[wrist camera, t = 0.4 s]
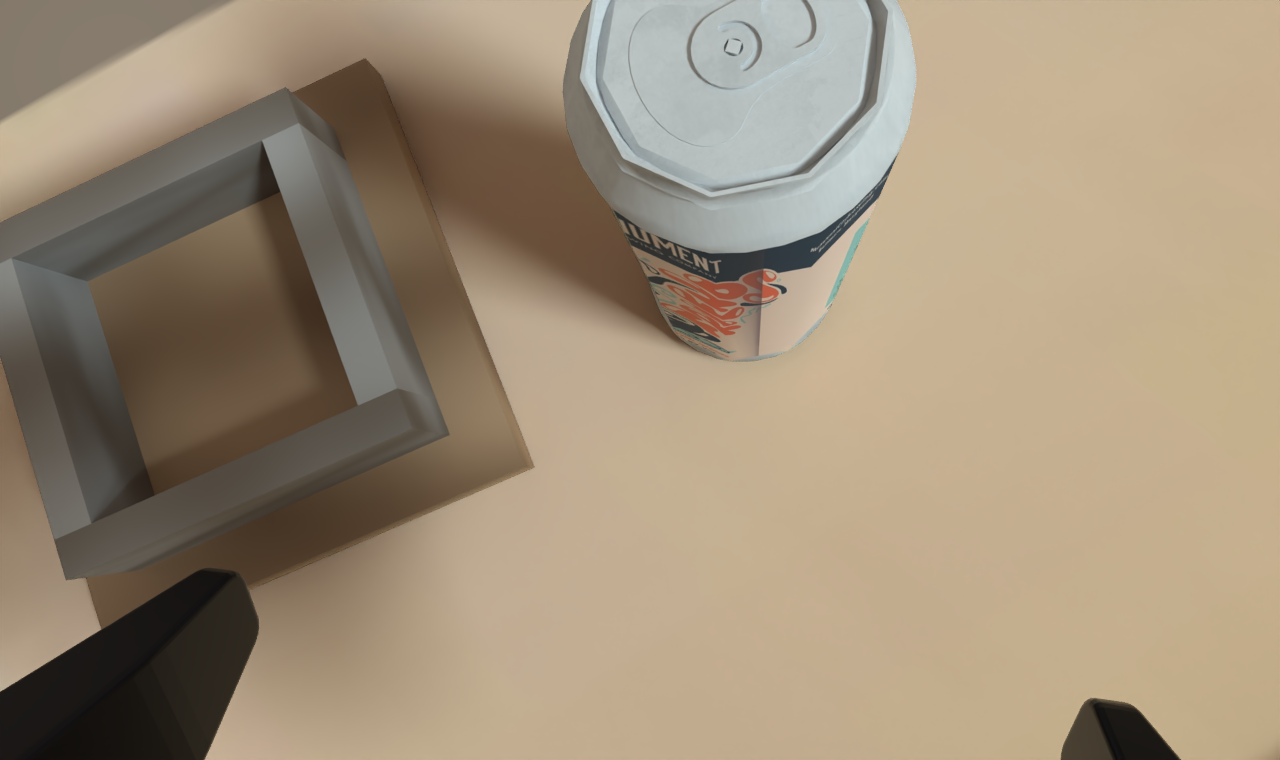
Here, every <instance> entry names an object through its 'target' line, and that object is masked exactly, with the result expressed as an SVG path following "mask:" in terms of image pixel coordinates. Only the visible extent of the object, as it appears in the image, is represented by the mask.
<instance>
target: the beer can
mask: <svg viewBox="0 0 1280 760" xmlns="http://www.w3.org/2000/svg"><path fill="white" fill-rule="evenodd" d="M915 88H916V64H915V58H914V52H913V47H912V41H911V36H910V32H909V28H908V24H907V21H906V19H905V17H904V15H903V13H902V10H901V8H900V6H899V4H898V2H897V0H591V1H590V3H589V4H588V5H587V7H586V8H585V10H584V12H583V13H582V15H581V18H580V20H579V23H578V25H577V27H576V30H575V32H574V35H573V37H572V39H571V43H570V48H569V54H568V59H567V64H566V70H565V75H564V82H563V98H564V106H565V118H566V125H567V131H568V133H569V136H570V138H571V141H572V143H573V146H574V149H575V151H576V154H577V156H578V159H579V161H580V164H581V166H582V167H583V169H584V170H585V172H586V173H587V175H588V177H589V178H590V180H591V181H592V183H593V184H594V186H595V187H596V189H597V190H598V192H599V193H600V195H601V196H602V197H603V198H604V199H605V201H606V202H607V203H608V204H609V206H610V208H611V210H612V212H613V214H614V216H615V218H616V220H617V222H618V223H619V225H620V227H621V229H622V231H623V233H624V235H625V237H626V239H627V241H628V243H629V245H630V247H631V249H632V251H633V253H634V255H635V257H636V259H637V261H638V263H639V264H640V266H641V268H642V270H643V272H644V274H645V276H646V278H647V280H648V282H649V284H650V286H651V289H652V293H653V295H654V298H655V300H656V303H657V305H658V308H659V310H660V313H661V314H662V316H663V317H664V319H665V320H666V322H667V323H668V325H669V326H670V328H671V329H672V331H673V332H674V333H675V334H676V335H677V336H678V337H679V338H680V339H681V340H683V341H684V342H685V343H687V344H688V345H690V346H691V347H693V348H694V349H696V350H698V351H700V352H703V353H705V354H708V355H710V356H713V357H715V358H717V359H722V360H727V361H757V360H762V359H766V358H771V357H775V356H777V355H779V354H782V353H784V352H786V351H789V350H790V349H792V348H793V347H795V346H796V345H798V344H800V343H801V342H803V341H804V340H805V339H806V338H807V337H808V336H809V335H810V334H811V333H812V332H813V331H814V330H815V329H816V328H817V327H818V325H819V324H820V323H821V321H822V320H823V318H824V317H825V315H826V314H827V312H828V311H829V309H830V307H831V305H832V303H833V300H834V298H835V296H836V294H837V291H838V289H839V287H840V285H841V282H842V280H843V278H844V275H845V273H846V271H847V269H848V266H849V264H850V262H851V260H852V257H853V255H854V253H855V250H856V248H857V246H858V244H859V241H860V239H861V237H862V234H863V232H864V230H865V228H866V225H867V223H868V221H869V219H870V216H871V214H872V212H873V209H874V207H875V205H876V203H877V200H878V198H879V196H880V194H881V191H882V189H883V187H884V184H885V182H886V180H887V178H888V175H889V173H890V171H891V169H892V166H893V164H894V162H895V159H896V157H897V155H898V153H899V150H900V148H901V145H902V142H903V140H904V137H905V135H906V132H907V129H908V127H909V122H910V116H911V110H912V105H913V99H914V93H915Z"/></svg>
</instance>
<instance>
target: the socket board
mask: <svg viewBox="0 0 1280 760" xmlns="http://www.w3.org/2000/svg"><path fill="white" fill-rule="evenodd" d="M0 357H1V360H2V363H3V367H4V370H5V374H6V377H7V381H8V384H9V387H10V391H11V394H12V398H13V401H14V404H15V408H16V411H17V415H18V418H19V421H20V425H21V428H22V432H23V435H24V438H25V442H26V445H27V449H28V452H29V456H30V459H31V462H32V466H33V469H34V473H35V476H36V479H37V483H38V486H39V490H40V493H41V496H42V500H43V503H44V507H45V510H46V513H47V517H48V520H49V524H50V527H51V531H52V534H53V537H54V541H55V544H56V548H57V551H58V554H59V558H60V561H61V565H62V568H63V571H64V575H65V578H66V580H71V579H78V578H86V579H87V582H88V586H89V589H90V592H91V596H92V599H93V602H94V606H95V609H96V613H97V616H98V619H99V623H100V626H101V629H103V628H105V627H106V626H108V625H110V624H111V623H113V622H115V621H116V620H118V619H119V618H121V617H123V616H124V615H126V614H128V613H129V612H131V611H132V610H134V609H136V608H137V607H139V606H141V605H142V604H144V603H145V602H147V601H149V600H150V599H152V598H154V597H155V596H157V595H158V594H160V593H162V592H163V591H165V590H167V589H168V588H170V587H171V586H173V585H175V584H176V583H178V582H180V581H181V580H183V579H184V578H186V577H188V576H189V575H191V574H193V573H194V572H196V571H198V570H200V569H203V568H218V569H225V570H232V571H236V572H239V573H240V574H241V575H242V576H243V577H244V579H245V581H246V584H247V587H248V590H250V589H253V588H255V587H257V586H260V585H262V584H264V583H267V582H269V581H271V580H274V579H276V578H278V577H281V576H283V575H285V574H288V573H290V572H292V571H294V570H297V569H299V568H301V567H304V566H306V565H308V564H311V563H313V562H315V561H318V560H320V559H322V558H325V557H327V556H329V555H332V554H334V553H336V552H339V551H341V550H343V549H346V548H348V547H350V546H353V545H355V544H357V543H360V542H362V541H364V540H367V539H369V538H371V537H374V536H376V535H378V534H381V533H383V532H385V531H388V530H390V529H392V528H395V527H397V526H399V525H402V524H404V523H406V522H408V521H411V520H413V519H415V518H418V517H420V516H422V515H425V514H427V513H429V512H432V511H434V510H436V509H439V508H441V507H443V506H446V505H448V504H450V503H453V502H455V501H457V500H460V499H462V498H464V497H467V496H469V495H471V494H474V493H476V492H478V491H481V490H483V489H485V488H488V487H490V486H492V485H495V484H497V483H499V482H502V481H504V480H506V479H509V478H511V477H513V476H516V475H518V474H520V473H522V472H525V471H527V470H529V469H532V468H534V465H533V462H532V460H531V457H530V454H529V452H528V449H527V447H526V444H525V442H524V439H523V437H522V434H521V431H520V429H519V426H518V424H517V421H516V419H515V416H514V414H513V411H512V408H511V406H510V403H509V401H508V398H507V396H506V393H505V391H504V388H503V386H502V383H501V380H500V378H499V375H498V373H497V370H496V368H495V365H494V363H493V360H492V357H491V355H490V352H489V350H488V347H487V345H486V342H485V340H484V337H483V335H482V332H481V329H480V327H479V324H478V322H477V319H476V317H475V314H474V312H473V309H472V306H471V304H470V301H469V299H468V296H467V294H466V291H465V289H464V286H463V284H462V281H461V278H460V276H459V273H458V271H457V268H456V266H455V263H454V261H453V258H452V255H451V253H450V250H449V248H448V245H447V243H446V240H445V238H444V235H443V233H442V230H441V227H440V225H439V222H438V220H437V217H436V215H435V212H434V210H433V207H432V204H431V202H430V199H429V197H428V194H427V192H426V189H425V187H424V184H423V182H422V179H421V176H420V174H419V171H418V169H417V166H416V164H415V161H414V159H413V156H412V153H411V151H410V148H409V146H408V143H407V141H406V138H405V136H404V133H403V131H402V128H401V125H400V123H399V120H398V118H397V115H396V113H395V110H394V108H393V105H392V102H391V100H390V97H389V95H388V92H387V90H386V87H385V85H384V82H383V80H382V77H381V75H380V74H379V73H378V72H377V71H376V69H375V68H374V67H373V66H372V65H371V64H370V63H369V62H368V61H367V59H366V58H365V59H363V60H361V61H359V62H357V63H354V64H352V65H350V66H348V67H346V68H344V69H342V70H340V71H338V72H335V73H333V74H331V75H329V76H327V77H325V78H323V79H321V80H319V81H316V82H314V83H312V84H310V85H308V86H306V87H304V88H302V89H299V90H297V91H295V92H293V93H292V92H290V91H289V90H288V89H287V88H286V87H285V88H283V89H281V90H279V91H277V92H275V93H273V94H271V95H268V96H266V97H264V98H262V99H260V100H258V101H256V102H254V103H252V104H250V105H247V106H245V107H243V108H241V109H239V110H237V111H235V112H233V113H231V114H228V115H226V116H224V117H222V118H220V119H218V120H216V121H214V122H212V123H209V124H207V125H205V126H203V127H201V128H199V129H197V130H195V131H193V132H190V133H188V134H186V135H184V136H182V137H180V138H178V139H176V140H174V141H171V142H169V143H167V144H165V145H163V146H161V147H159V148H157V149H155V150H152V151H150V152H148V153H146V154H144V155H142V156H140V157H138V158H136V159H134V160H131V161H129V162H127V163H125V164H123V165H121V166H119V167H117V168H115V169H112V170H110V171H108V172H106V173H104V174H102V175H100V176H98V177H96V178H93V179H91V180H89V181H87V182H85V183H83V184H81V185H79V186H77V187H74V188H72V189H70V190H68V191H66V192H64V193H62V194H60V195H58V196H55V197H53V198H51V199H49V200H47V201H45V202H43V203H41V204H39V205H36V206H34V207H32V208H30V209H28V210H26V211H24V212H22V213H20V214H17V215H15V216H13V217H11V218H9V219H7V220H5V221H3V222H1V223H0Z"/></svg>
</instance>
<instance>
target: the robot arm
mask: <svg viewBox="0 0 1280 760" xmlns="http://www.w3.org/2000/svg"><path fill="white" fill-rule="evenodd" d="M258 631H259V619H258V616H257V613H256V610H255V607H254V604H253V601H252V598H251V596H250V593H249V590H248V587H247V584H246V581H245V579H244V577H243V576H242V575H241V574H240V573H239V572H236V571H232V570H225V569H218V568H203V569H200V570H198V571H196V572H194V573H193V574H191V575H189V576H188V577H186V578H184V579H183V580H181V581H180V582H178V583H176V584H175V585H173V586H171V587H170V588H168V589H167V590H165V591H163V592H162V593H160V594H158V595H157V596H155V597H154V598H152V599H150V600H149V601H147V602H145V603H144V604H142V605H141V606H139V607H137V608H136V609H134V610H132V611H131V612H129V613H128V614H126V615H124V616H123V617H121V618H119V619H118V620H116V621H115V622H113V623H111V624H110V625H108V626H106V627H105V628H103V629H102V630H100V631H98V632H97V633H95V634H93V635H92V636H90V637H89V638H87V639H85V640H84V641H82V642H80V643H79V644H77V645H76V646H74V647H72V648H71V649H69V650H67V651H66V652H64V653H63V654H61V655H59V656H58V657H56V658H54V659H53V660H51V661H50V662H48V663H46V664H45V665H43V666H41V667H40V668H38V669H37V670H35V671H33V672H32V673H30V674H28V675H27V676H25V677H23V678H22V679H20V680H19V681H17V682H15V683H14V684H12V685H10V686H9V687H7V688H6V689H4V690H2V691H1V692H0V760H205V757H206V755H207V753H208V751H209V749H210V747H211V744H212V742H213V740H214V737H215V735H216V733H217V731H218V728H219V726H220V724H221V721H222V719H223V717H224V714H225V712H226V710H227V707H228V705H229V703H230V700H231V698H232V696H233V693H234V691H235V689H236V687H237V684H238V682H239V680H240V677H241V675H242V673H243V670H244V668H245V666H246V663H247V661H248V659H249V656H250V654H251V652H252V649H253V647H254V645H255V642H256V639H257V636H258ZM1061 760H1181V759H1180V758H1179V757H1178V756H1177V755H1176V753H1175V752H1174V751H1173V750H1172V749H1171V747H1170V746H1169V745H1168V744H1167V743H1166V741H1165V740H1164V739H1163V738H1162V737H1161V736H1160V734H1159V733H1158V732H1157V731H1156V730H1155V728H1154V727H1153V726H1152V725H1151V724H1150V722H1149V721H1148V720H1147V719H1146V718H1145V717H1144V715H1143V714H1142V713H1141V712H1140V711H1139V710H1138V709H1137V708H1135V707H1134V706H1132V705H1131V704H1128V703H1125V702H1118V701H1111V700H1105V699H1098V698H1090V699H1088V700H1087V701H1085V702H1084V704H1083V705H1082V707H1081V709H1080V711H1079V713H1078V715H1077V717H1076V719H1075V721H1074V724H1073V726H1072V728H1071V730H1070V732H1069V734H1068V736H1067V738H1066V740H1065V742H1064V745H1063V748H1062V753H1061Z"/></svg>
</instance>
